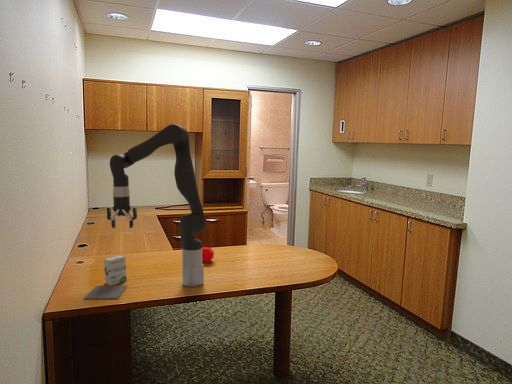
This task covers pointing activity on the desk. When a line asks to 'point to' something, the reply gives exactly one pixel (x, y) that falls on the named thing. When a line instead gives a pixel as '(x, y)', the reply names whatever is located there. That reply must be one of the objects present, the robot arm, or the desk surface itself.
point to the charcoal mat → (105, 292)
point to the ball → (207, 254)
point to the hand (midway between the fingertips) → (122, 227)
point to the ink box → (115, 270)
